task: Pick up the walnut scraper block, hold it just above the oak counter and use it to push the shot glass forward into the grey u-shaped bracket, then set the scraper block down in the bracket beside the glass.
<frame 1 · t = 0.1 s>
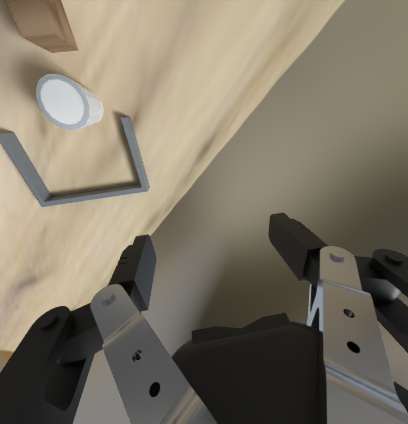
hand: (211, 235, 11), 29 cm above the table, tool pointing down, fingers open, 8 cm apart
scraper block: (52, 15, 25), on the table
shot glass: (86, 106, 31), on the table
grey u-shaped bracket: (85, 160, 35), on the table
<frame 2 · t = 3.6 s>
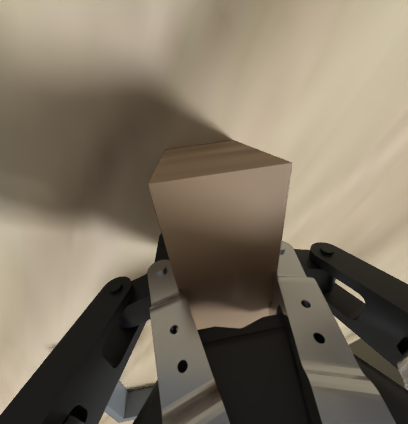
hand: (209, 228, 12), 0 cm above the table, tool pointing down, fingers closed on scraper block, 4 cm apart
scraper block: (206, 206, 12), on the table, touching gripper
grey u-shaped bracket: (192, 355, 21), on the table
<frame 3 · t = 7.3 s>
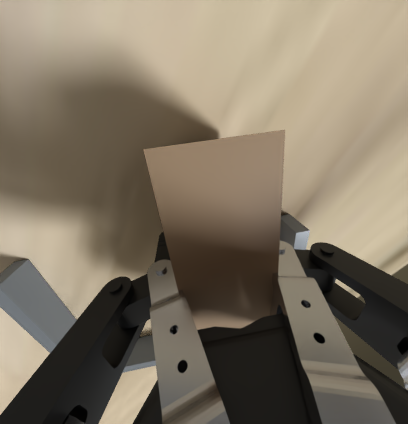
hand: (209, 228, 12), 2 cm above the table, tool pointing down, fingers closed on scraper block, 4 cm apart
scraper block: (206, 204, 12), point 1 cm above the table, tilted 6°, touching gripper, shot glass
grey u-shaped bracket: (174, 290, 17), on the table
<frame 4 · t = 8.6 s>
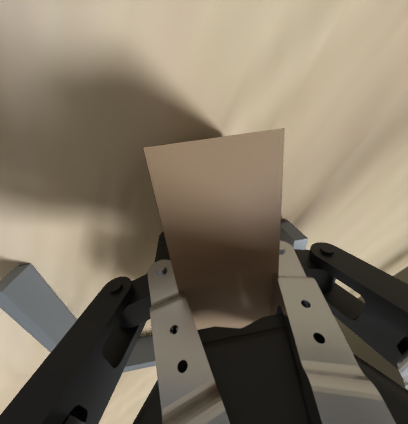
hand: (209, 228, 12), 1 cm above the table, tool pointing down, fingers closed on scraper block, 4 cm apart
scraper block: (206, 204, 12), point 1 cm above the table, tilted 7°, touching gripper
grey u-shaped bracket: (174, 293, 17), on the table
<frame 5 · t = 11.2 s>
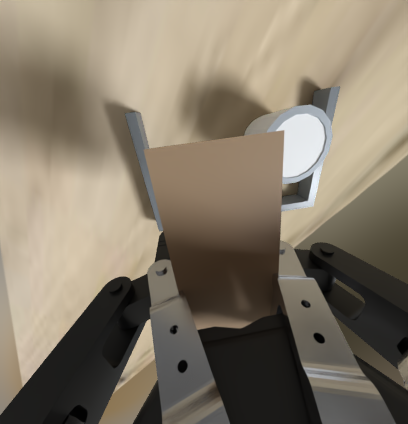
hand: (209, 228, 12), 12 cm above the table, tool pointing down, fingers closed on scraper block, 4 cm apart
scraper block: (206, 205, 12), point 12 cm above the table, tilted 7°, touching gripper
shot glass: (263, 140, 22), on the table
grey u-shaped bracket: (231, 160, 22), on the table
when the fingers open (2 cm above the table, at t = 13.3 s): scraper block drops 1 cm, on the table.
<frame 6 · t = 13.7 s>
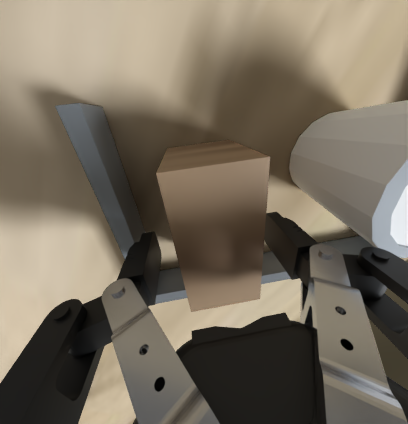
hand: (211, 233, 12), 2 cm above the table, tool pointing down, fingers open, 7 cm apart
scraper block: (204, 199, 13), on the table
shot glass: (324, 155, 13), on the table
grey u-shaped bracket: (268, 189, 13), on the table
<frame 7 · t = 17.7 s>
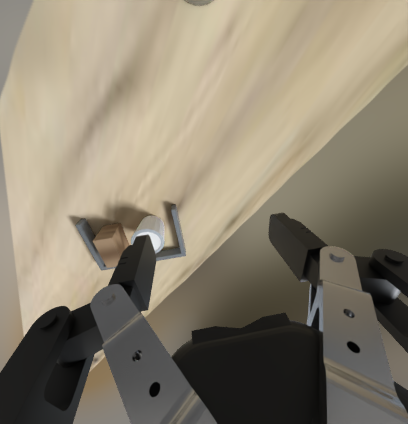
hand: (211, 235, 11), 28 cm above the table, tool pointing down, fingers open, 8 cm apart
scraper block: (118, 237, 43), on the table
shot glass: (152, 224, 43), on the table
grey u-shaped bracket: (137, 234, 43), on the table
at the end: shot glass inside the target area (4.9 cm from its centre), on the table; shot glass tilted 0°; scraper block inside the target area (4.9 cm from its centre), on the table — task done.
